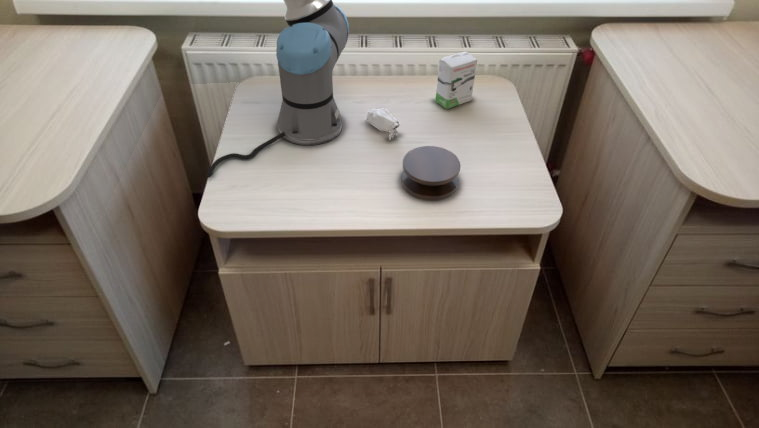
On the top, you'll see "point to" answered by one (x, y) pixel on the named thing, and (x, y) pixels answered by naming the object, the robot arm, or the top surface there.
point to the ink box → (455, 79)
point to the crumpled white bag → (383, 121)
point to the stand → (430, 173)
